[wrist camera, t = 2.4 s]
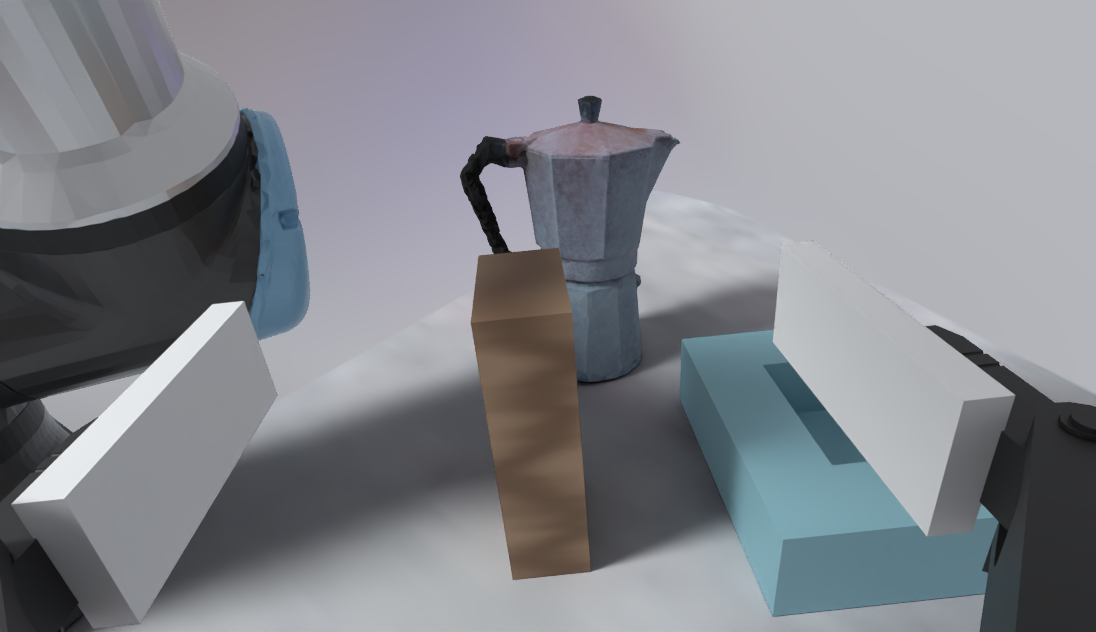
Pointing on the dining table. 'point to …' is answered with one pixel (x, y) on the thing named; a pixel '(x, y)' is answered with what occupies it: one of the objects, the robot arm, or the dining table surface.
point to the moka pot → (584, 222)
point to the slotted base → (811, 490)
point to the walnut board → (532, 409)
